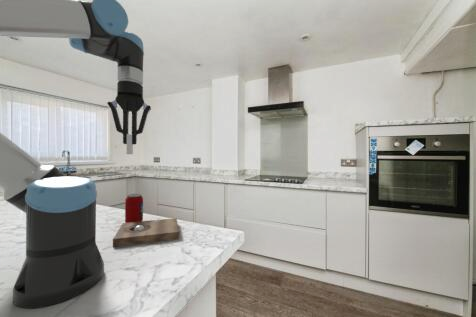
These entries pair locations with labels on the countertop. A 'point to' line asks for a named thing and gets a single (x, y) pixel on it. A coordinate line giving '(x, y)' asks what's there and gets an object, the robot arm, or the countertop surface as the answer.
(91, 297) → the countertop surface
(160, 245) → the countertop surface
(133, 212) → the beverage can
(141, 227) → the ball
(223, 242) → the countertop surface
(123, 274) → the countertop surface
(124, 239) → the block
